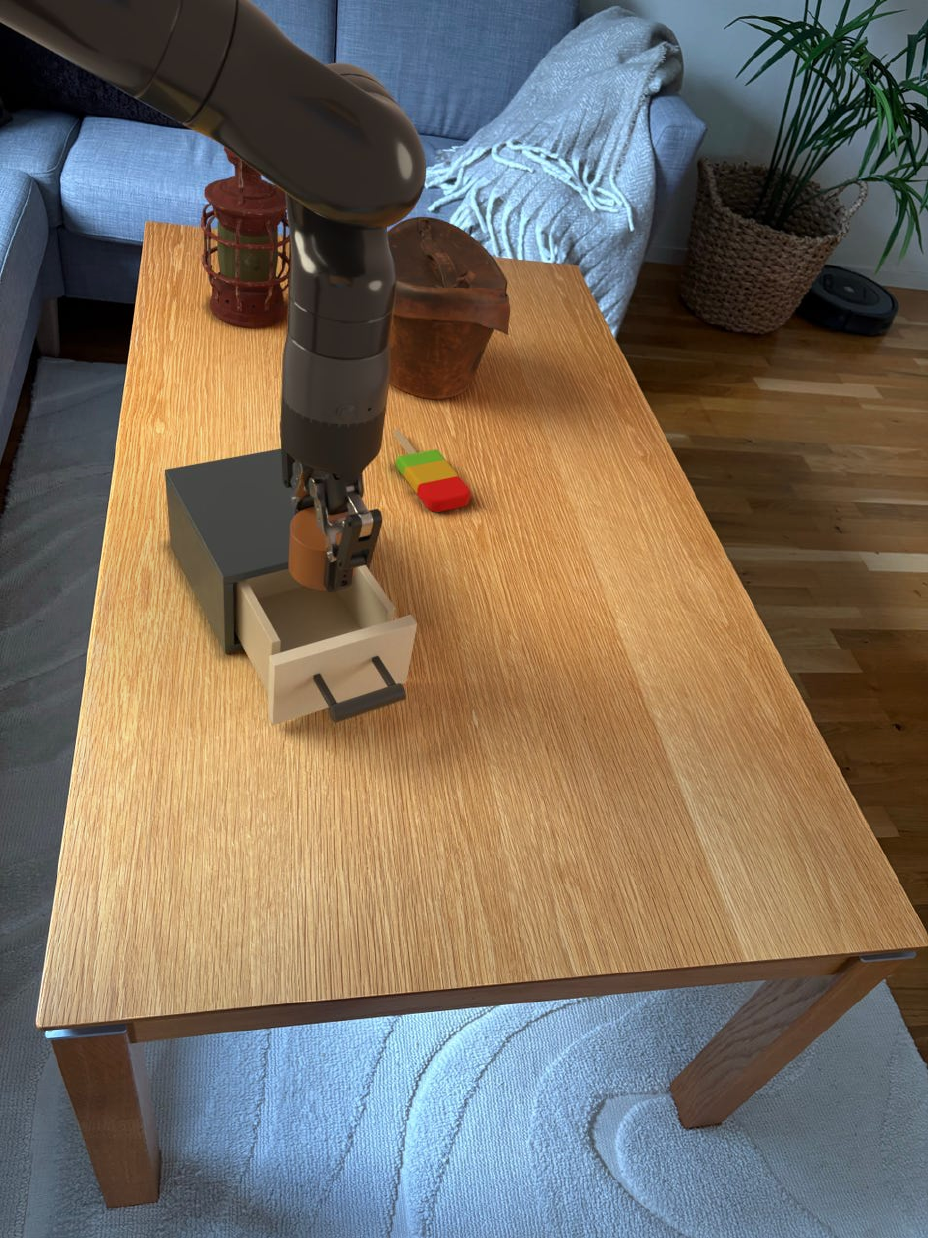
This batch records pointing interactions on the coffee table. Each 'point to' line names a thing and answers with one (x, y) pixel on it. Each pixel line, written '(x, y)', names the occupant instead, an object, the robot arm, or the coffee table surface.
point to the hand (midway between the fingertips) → (321, 562)
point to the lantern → (246, 247)
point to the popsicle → (431, 477)
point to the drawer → (323, 645)
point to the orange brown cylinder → (309, 549)
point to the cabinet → (229, 529)
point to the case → (442, 307)
